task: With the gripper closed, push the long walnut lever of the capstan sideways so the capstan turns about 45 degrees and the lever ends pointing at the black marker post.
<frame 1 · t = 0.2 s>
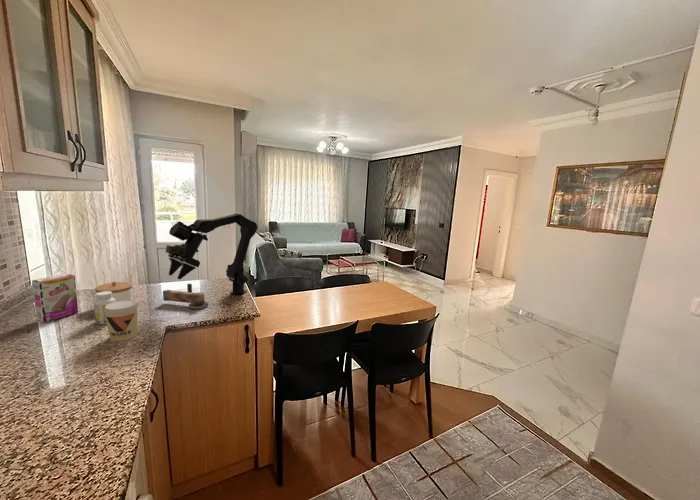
hand: (174, 277, 125), 15 cm above the worktop, tool tilted 30°, fingers open, 9 cm apart
capstan lever: (183, 297, 133), point 4 cm above the worktop, hinge at 0.0°
candy bar box: (58, 317, 114), on the worktop
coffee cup: (124, 336, 103), on the worktop
lidded bowl: (115, 306, 128), on the worktop
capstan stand: (198, 306, 133), on the worktop
pill bottle: (106, 321, 113), on the worktop
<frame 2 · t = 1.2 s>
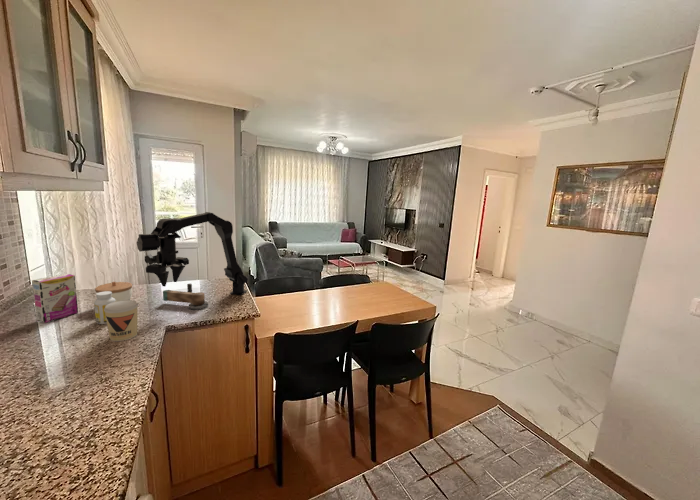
hand: (169, 284, 125), 12 cm above the worktop, tool pointing down, fingers open, 6 cm apart
nothing on the worktop moved.
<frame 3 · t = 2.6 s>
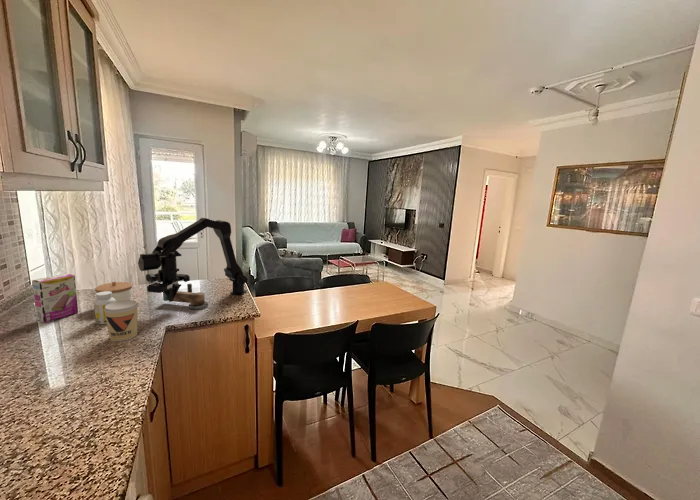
hand: (170, 301, 126), 4 cm above the worktop, tool pointing down, fingers closed
nothing on the worktop moved.
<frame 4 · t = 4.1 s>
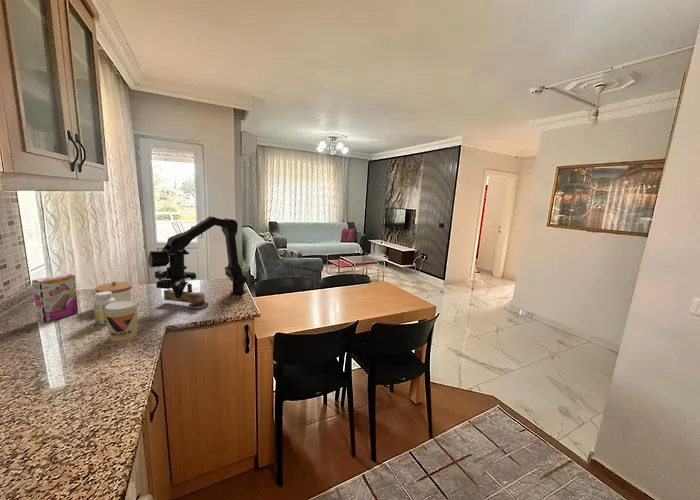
hand: (178, 298, 131), 4 cm above the worktop, tool pointing down, fingers closed
capstan lever: (184, 297, 133), point 4 cm above the worktop, hinge at 2.4°, touching gripper
everything else where it was.
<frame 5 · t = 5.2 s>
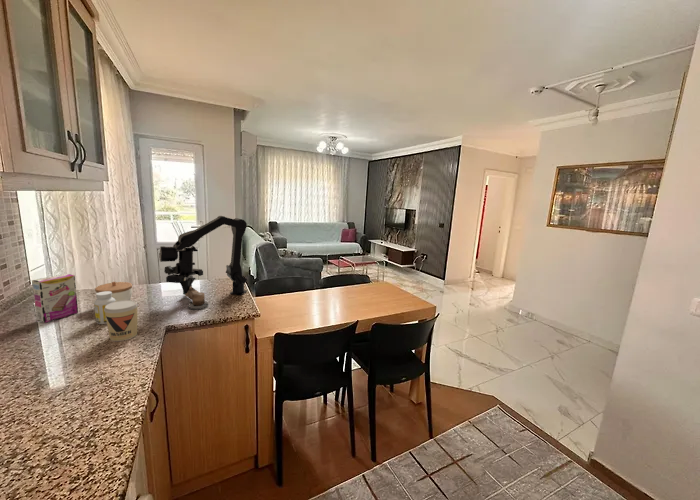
hand: (185, 293, 136), 5 cm above the worktop, tool pointing down, fingers closed
capstan lever: (192, 294, 137), point 4 cm above the worktop, hinge at 37.0°, touching gripper
everything else where it was.
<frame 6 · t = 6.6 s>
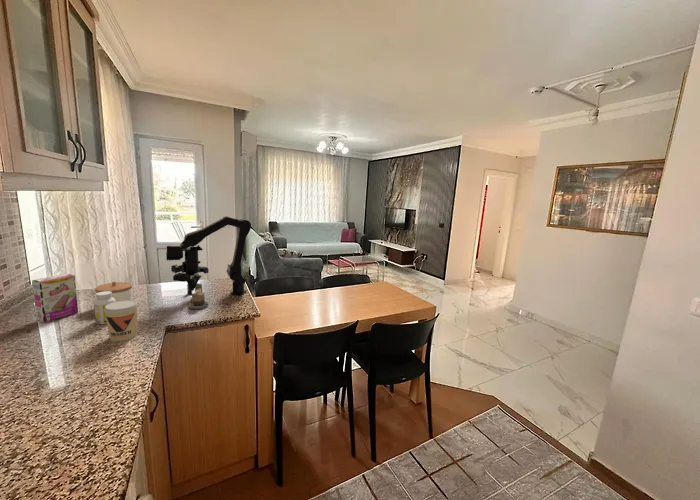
hand: (192, 290, 141), 4 cm above the worktop, tool pointing down, fingers closed
capstan lever: (198, 293, 138), point 4 cm above the worktop, hinge at 56.6°, touching gripper
everything else where it was.
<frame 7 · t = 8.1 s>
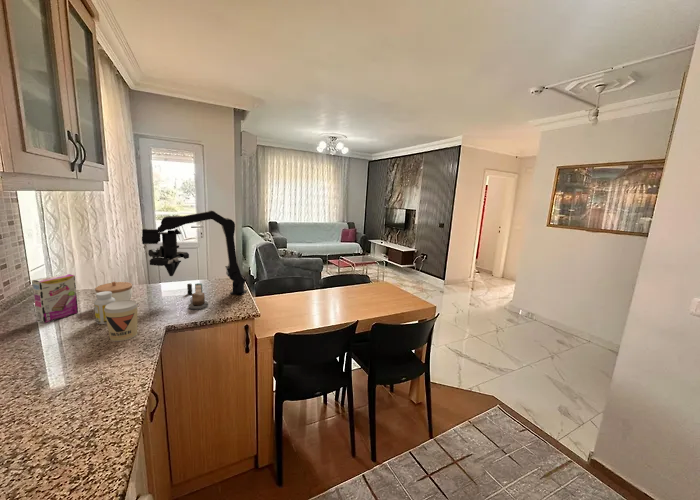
hand: (171, 276, 136), 12 cm above the worktop, tool pointing down, fingers closed
capstan lever: (198, 293, 138), point 4 cm above the worktop, hinge at 56.9°
everything else where it was.
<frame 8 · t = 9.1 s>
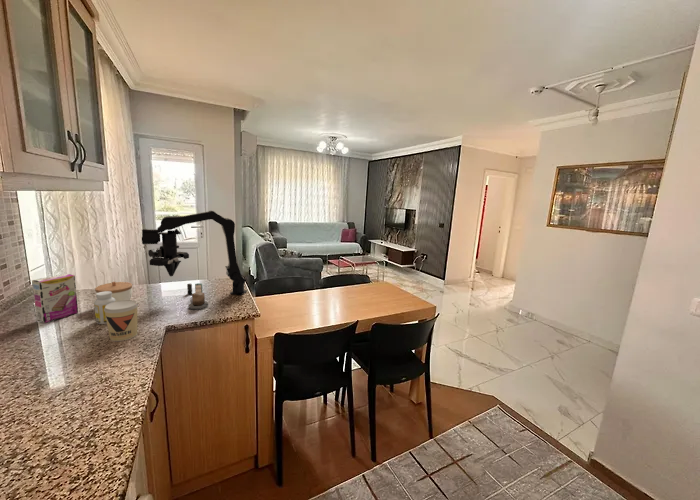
hand: (171, 276, 136), 12 cm above the worktop, tool pointing down, fingers closed
nothing on the worktop moved.
at the end: capstan lever at +57° (first picture: +0°) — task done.
